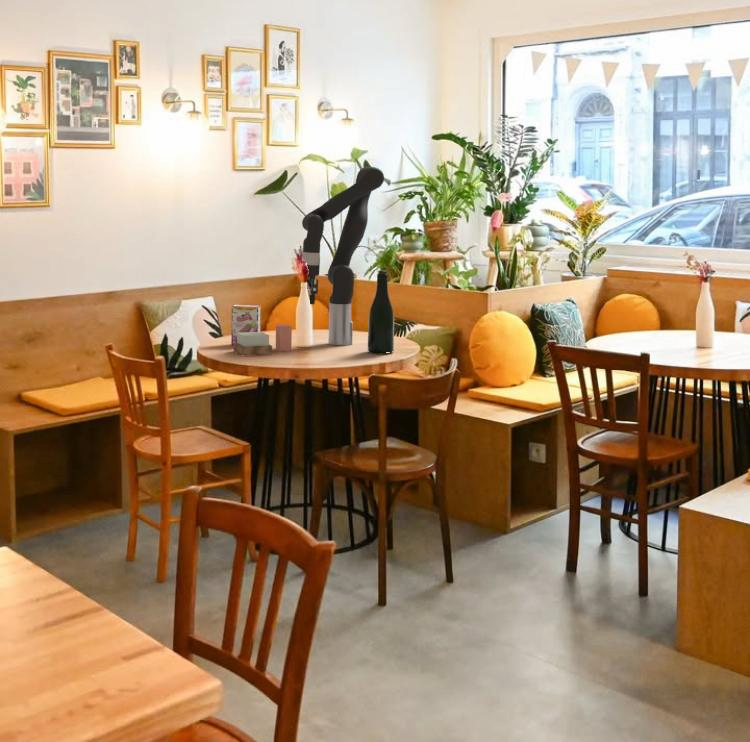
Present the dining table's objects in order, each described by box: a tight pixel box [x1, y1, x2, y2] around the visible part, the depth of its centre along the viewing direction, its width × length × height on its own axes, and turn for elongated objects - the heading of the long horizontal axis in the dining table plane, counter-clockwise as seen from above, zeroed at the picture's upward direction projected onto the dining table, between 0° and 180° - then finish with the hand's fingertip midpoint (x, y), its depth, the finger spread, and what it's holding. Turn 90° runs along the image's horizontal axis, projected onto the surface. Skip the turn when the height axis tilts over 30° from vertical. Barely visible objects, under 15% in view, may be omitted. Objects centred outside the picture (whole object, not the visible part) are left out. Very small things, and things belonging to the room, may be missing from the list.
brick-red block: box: [275, 324, 293, 352], centre depth 431 cm, size 5×5×10 cm
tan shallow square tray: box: [233, 342, 273, 357], centre depth 422 cm, size 12×12×4 cm
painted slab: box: [237, 331, 270, 346], centre depth 422 cm, size 10×10×4 cm
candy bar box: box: [230, 304, 261, 346], centre depth 441 cm, size 11×5×16 cm, turn 84°
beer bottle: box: [367, 269, 395, 354], centre depth 429 cm, size 10×10×33 cm
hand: (308, 303), depth 442 cm, fingers open, 8 cm apart
